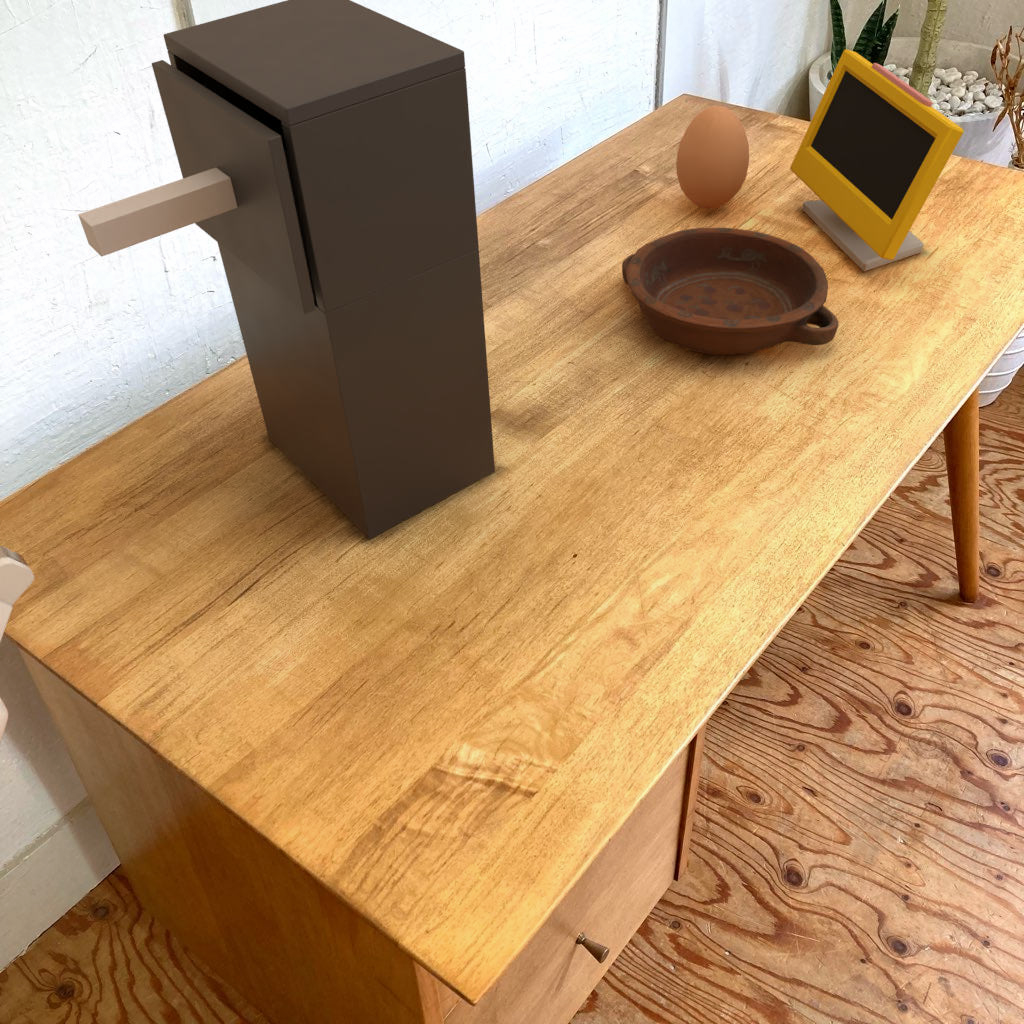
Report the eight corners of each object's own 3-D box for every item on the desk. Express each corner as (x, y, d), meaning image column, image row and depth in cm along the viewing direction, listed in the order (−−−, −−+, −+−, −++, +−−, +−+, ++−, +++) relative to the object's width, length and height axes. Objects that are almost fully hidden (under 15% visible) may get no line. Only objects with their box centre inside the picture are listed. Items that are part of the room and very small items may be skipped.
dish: (788, 405, 89) (797, 356, 86) (571, 328, 99) (571, 281, 96) (869, 309, 99) (879, 262, 96) (664, 247, 109) (667, 203, 106)
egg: (757, 201, 115) (769, 103, 108) (719, 229, 111) (729, 129, 104) (698, 183, 119) (706, 87, 112) (659, 209, 115) (665, 111, 108)
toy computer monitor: (784, 197, 116) (806, 51, 105) (850, 186, 117) (878, 40, 106) (874, 289, 101) (909, 130, 91) (947, 276, 103) (991, 117, 92)
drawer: (171, 373, 61) (112, 192, 54) (73, 270, 71) (10, 103, 63) (458, 251, 70) (442, 81, 62) (337, 174, 79) (311, 17, 72)
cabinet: (369, 539, 79) (285, 108, 57) (268, 438, 89) (162, 33, 66) (495, 471, 85) (464, 50, 62) (387, 382, 94) (326, -12, 71)
